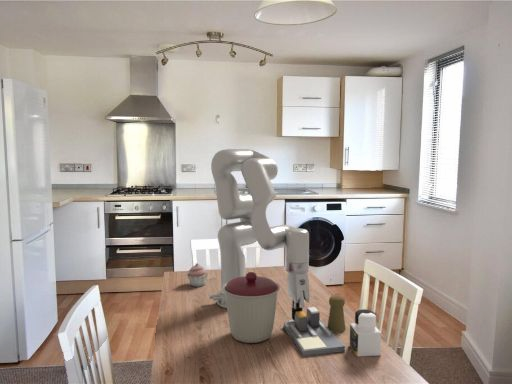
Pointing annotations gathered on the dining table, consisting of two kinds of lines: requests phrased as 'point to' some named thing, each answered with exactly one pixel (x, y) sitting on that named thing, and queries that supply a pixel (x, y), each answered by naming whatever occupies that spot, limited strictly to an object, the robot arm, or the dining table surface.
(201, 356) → the dining table surface
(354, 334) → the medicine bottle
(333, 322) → the cork
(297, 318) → the block
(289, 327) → the panel
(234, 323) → the canister
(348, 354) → the dining table surface
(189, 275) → the cupcake
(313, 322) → the toggle plain
